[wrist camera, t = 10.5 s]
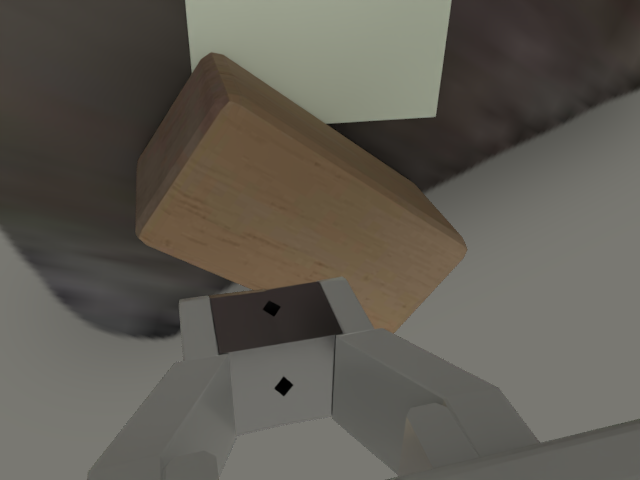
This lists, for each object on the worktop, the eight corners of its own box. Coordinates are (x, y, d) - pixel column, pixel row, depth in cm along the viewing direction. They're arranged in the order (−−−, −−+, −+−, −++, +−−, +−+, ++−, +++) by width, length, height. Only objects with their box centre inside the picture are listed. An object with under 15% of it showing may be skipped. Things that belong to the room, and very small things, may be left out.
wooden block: (130, 165, 37) (343, 271, 47) (127, 245, 29) (384, 351, 39) (207, 41, 34) (417, 183, 44) (228, 91, 26) (478, 251, 36)
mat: (455, -63, 36) (460, -62, 35) (432, 114, 42) (435, 116, 41) (178, -70, 31) (178, -70, 31) (196, 129, 37) (197, 131, 37)
